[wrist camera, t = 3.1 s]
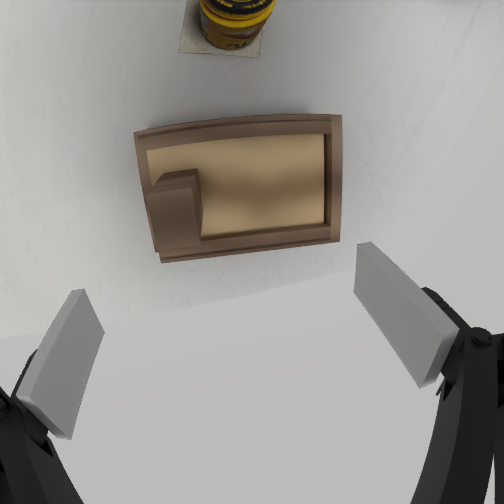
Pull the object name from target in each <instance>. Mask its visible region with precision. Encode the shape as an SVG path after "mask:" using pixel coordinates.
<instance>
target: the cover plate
mask: <svg viewBox="0 0 504 504" xmlns="http://www.w3.org/2000/svg"><path fill="white" fill-rule="evenodd" d="M147 158H148V164H149V171H150V177H151V183H152V187H151V188H150V190H149V191H148V192H147V193H146V198H147V204H148V209H149V214H150V219H151V224H152V228H153V233H154V238H155V242H156V246H157V251H158V250H166V249H174V248H182V247H190V246H198V245H200V243H201V238H203V237H211V236H219V235H227V234H236V233H244V232H253V231H262V230H271V229H280V228H289V227H298V226H307V225H317V224H324V134H294V135H273V136H257V137H245V138H234V139H224V140H215V141H206V142H198V143H191V144H184V145H177V146H171V147H165V148H159V149H153V150H147Z"/></svg>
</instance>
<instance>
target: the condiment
mask: <svg viewBox="0 0 504 504" xmlns="http://www.w3.org/2000/svg"><path fill="white" fill-rule="evenodd" d="M274 5H275V0H188V1H187V6H186V12H185V18H184V23H183V29H182V35H181V41H180V47H179V52H182V53H184V52H187V53H210V54H223V55H234V56H245V57H253V58H258V57H259V49H260V41H261V34H262V27H263V26H264V24H265V22H266V20H267V19H268V17H269V16H270V15H271V14H272V10H273V8H274ZM199 34H200V35H201V37H200V36H199ZM202 37H204V39H203V38H202Z"/></svg>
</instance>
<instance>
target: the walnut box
mask: <svg viewBox="0 0 504 504" xmlns="http://www.w3.org/2000/svg"><path fill="white" fill-rule="evenodd" d="M294 134H324V224H317V225H307V226H298V227H289V228H280V229H271V230H262V231H253V232H244V233H236V234H227V235H219V236H211V237H203V238H201V243H200V245H198V246H190V247H182V248H174V249H166V250H158V251H157V246H156V242H155V238H154V233H153V228H152V224H151V219H150V214H149V209H148V204H147V198H146V193H147V192H148V191H149V190H150V188H151V187H152V183H151V177H150V171H149V164H148V158H147V150H153V149H159V148H165V147H171V146H177V145H184V144H191V143H198V142H206V141H215V140H224V139H234V138H245V137H257V136H273V135H294ZM134 140H135V147H136V154H137V161H138V167H139V173H140V179H141V185H142V190H143V196H144V201H145V206H146V211H147V216H148V221H149V226H150V230H151V235H152V239H153V244H154V248H155V252H159V256H160V260H161V263H169V262H177V261H185V260H193V259H202V258H210V257H218V256H226V255H235V254H243V253H251V252H259V251H268V250H276V249H284V248H292V247H301V246H309V245H317V244H325V243H334V242H340V227H341V205H342V115H331V114H279V115H258V116H244V117H232V118H222V119H212V120H204V121H196V122H189V123H182V124H175V125H169V126H163V127H158V128H152V129H147V130H143V131H138V132H134Z"/></svg>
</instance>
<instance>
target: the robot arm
mask: <svg viewBox="0 0 504 504" xmlns="http://www.w3.org/2000/svg"><path fill="white" fill-rule="evenodd" d="M354 294H355V295H356V296H357V298H358V299H359V300H360V302H361V303H362V305H363V306H364V307H365V309H366V310H367V311H368V313H369V314H370V316H371V317H372V318H373V320H374V321H375V323H376V324H377V325H378V327H379V329H380V330H381V331H382V333H383V334H384V336H385V337H386V339H387V340H388V341H389V343H390V345H391V346H392V347H393V349H394V350H395V352H396V353H397V355H398V356H399V358H400V359H401V361H402V362H403V364H404V365H405V367H406V368H407V370H408V372H409V373H410V375H411V376H412V378H413V379H414V381H415V382H416V384H417V386H418V387H419V389H421V388H423V387H426V386H428V385H430V384H432V383H434V382H435V381H436V379H437V377H438V375H439V373H440V372H441V373H442V374H443V376H444V377H445V378H444V380H443V382H442V383H441V386H440V387H439V389H438V391H437V393H436V395H438V394H439V393H440V391H441V394H440V400H439V405H438V411H437V416H436V420H435V425H434V430H433V434H432V438H431V442H430V446H429V449H428V453H427V457H426V460H425V463H424V467H423V470H422V473H421V476H420V479H419V482H418V485H417V488H416V490H415V493H414V496H413V498H412V501H411V503H410V504H484V500H485V496H486V492H487V488H488V483H489V478H490V473H491V467H492V461H493V454H494V468H495V504H504V333H502V334H496V335H492V334H491V333H490V332H489V331H487V330H486V329H483V328H480V327H473V328H471V327H470V326H469V325H468V324H467V323H466V322H465V321H464V320H463V319H462V318H461V317H460V316H459V315H458V314H457V313H456V312H455V311H454V310H453V309H452V308H451V307H449V305H448V304H447V303H446V302H445V301H444V300H443V299H442V298H441V297H440V296H439V295H438V294H437V293H436V292H434V291H433V290H431V289H429V288H427V287H424V288H420V287H419V286H418V285H417V284H416V283H415V282H414V281H413V280H411V278H409V276H408V275H406V274H405V273H404V272H403V271H402V270H401V269H400V268H399V267H398V266H397V265H396V264H395V263H394V262H393V261H392V260H390V259H389V258H388V257H387V256H386V255H385V254H384V253H383V252H382V251H381V250H380V249H379V248H377V247H376V246H375V245H374V244H373V243H372V242H368V243H362V244H357V258H356V272H355V285H354ZM103 335H104V330H103V328H102V326H101V324H100V322H99V320H98V318H97V316H96V314H95V312H94V309H93V307H92V305H91V303H90V301H89V299H88V296H87V294H86V292H85V290H84V289H79V290H72V291H71V293H70V294H69V296H68V298H67V299H66V301H65V302H64V304H63V306H62V307H61V309H60V311H59V312H58V314H57V316H56V317H55V319H54V321H53V322H52V324H51V326H50V328H49V329H48V331H47V333H46V335H45V337H44V338H43V340H42V342H41V344H40V346H39V348H38V349H36V351H35V352H34V353H33V354H32V355H31V356H30V357H29V359H28V361H27V363H26V365H25V368H24V369H23V371H22V374H21V375H20V377H19V379H18V381H17V383H16V386H15V388H14V390H13V392H12V394H11V397H9V396H8V395H7V394H6V393H5V392H4V391H3V389H2V388H1V387H0V504H84V503H83V501H82V500H81V498H80V496H79V495H78V493H77V491H76V489H75V488H74V486H73V484H72V482H71V480H70V479H69V477H68V475H67V473H66V471H65V469H64V467H63V465H62V463H61V461H60V459H59V457H58V454H57V452H56V450H55V448H54V446H53V443H52V441H51V440H50V438H49V437H48V436H47V433H48V430H49V431H50V432H51V433H52V434H54V435H55V436H56V437H57V438H62V439H68V440H71V439H72V434H73V430H74V427H75V423H76V419H77V415H78V412H79V408H80V405H81V401H82V398H83V394H84V391H85V388H86V384H87V381H88V378H89V375H90V372H91V369H92V366H93V363H94V360H95V357H96V355H97V352H98V349H99V346H100V343H101V341H102V338H103Z"/></svg>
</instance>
